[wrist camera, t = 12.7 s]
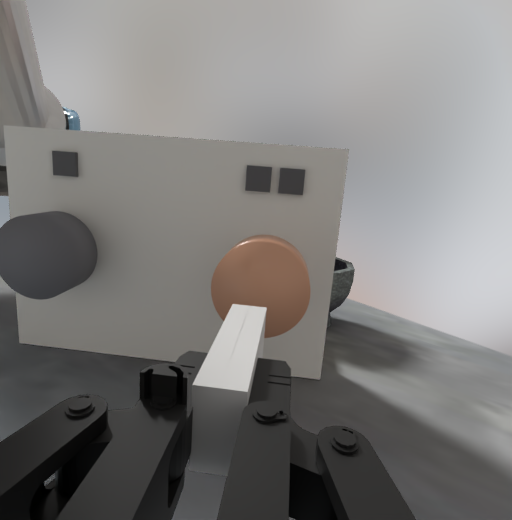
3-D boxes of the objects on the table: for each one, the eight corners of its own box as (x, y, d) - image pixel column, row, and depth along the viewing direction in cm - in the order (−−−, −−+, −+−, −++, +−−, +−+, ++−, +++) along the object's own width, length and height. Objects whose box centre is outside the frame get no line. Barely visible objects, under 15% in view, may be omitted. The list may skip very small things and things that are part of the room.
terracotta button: (304, 343, 23) (315, 247, 22) (208, 332, 23) (213, 237, 22) (302, 295, 32) (309, 226, 31) (233, 288, 33) (237, 219, 31)
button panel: (320, 382, 30) (349, 149, 26) (16, 345, 32) (-1, 124, 28) (315, 342, 37) (338, 155, 33) (67, 314, 39) (59, 135, 35)
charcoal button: (76, 303, 26) (73, 219, 25) (-4, 294, 27) (-11, 211, 26) (133, 270, 36) (133, 207, 34) (73, 264, 36) (71, 202, 35)
